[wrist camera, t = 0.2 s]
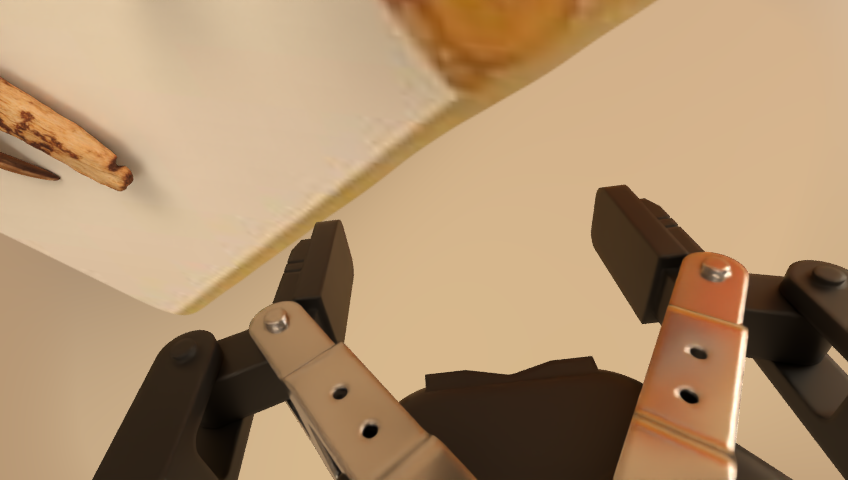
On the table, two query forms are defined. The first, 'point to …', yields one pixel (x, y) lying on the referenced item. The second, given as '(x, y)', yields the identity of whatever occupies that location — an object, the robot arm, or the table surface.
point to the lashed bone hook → (55, 141)
